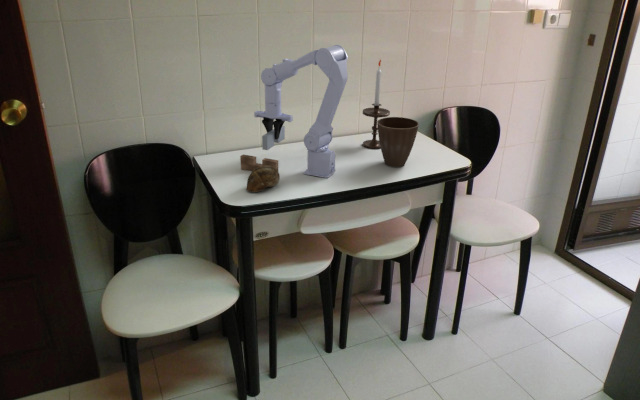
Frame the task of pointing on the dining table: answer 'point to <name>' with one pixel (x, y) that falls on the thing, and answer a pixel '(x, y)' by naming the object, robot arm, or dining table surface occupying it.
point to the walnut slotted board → (251, 164)
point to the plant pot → (396, 139)
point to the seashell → (262, 178)
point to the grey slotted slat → (272, 138)
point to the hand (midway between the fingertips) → (273, 138)
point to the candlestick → (375, 114)
